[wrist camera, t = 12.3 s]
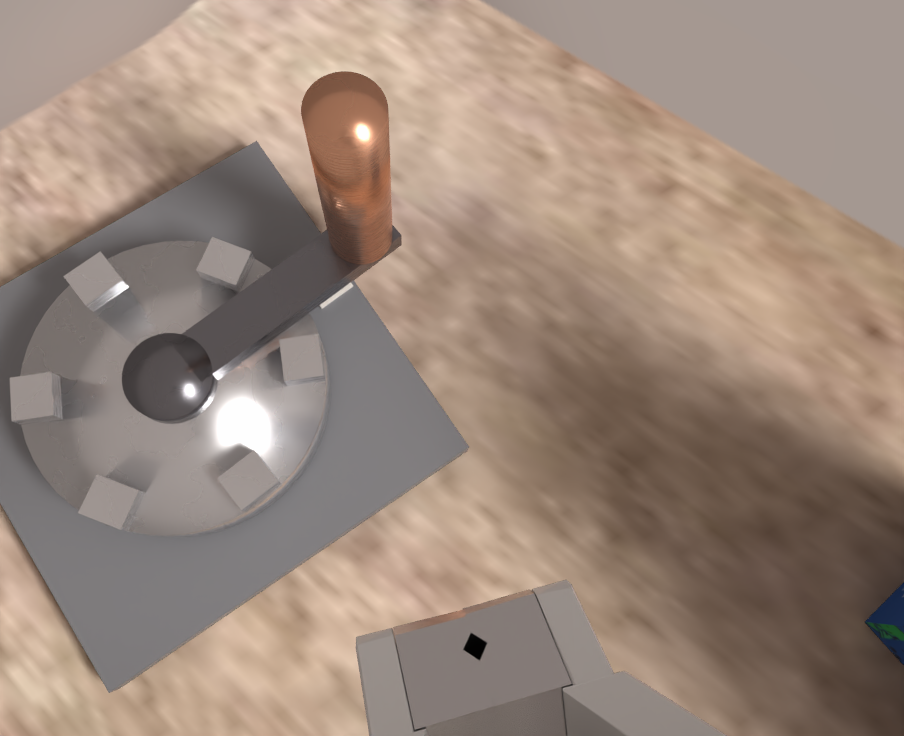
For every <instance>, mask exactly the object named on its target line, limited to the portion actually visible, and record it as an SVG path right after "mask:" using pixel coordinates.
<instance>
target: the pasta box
mask: <svg viewBox="0 0 904 736" xmlns="http://www.w3.org/2000/svg"><path fill="white" fill-rule="evenodd" d="M865 623H866V624H867V625H868V626H869V627H870V629H871V630H872V631H873V632H874V633H875V634H876V635H877V636H878V637H879V639H880V640H881V641H882V642H883V643H884V644H885V645H886V646H887V647H888V649H889V650H890V651H891V652H892V653H893V654H894V655H895V656H896V657H897V659H898V660H899V661H900V662H901V663H902V664H903V665H904V583H903V584H902V585H901V586H900V587H899V588H898V589H897V590H896V591H895V592H894V593H893V594H892V595H891V596H890V597H889V598H888V599H887V600H886V601H885V602H884V603H883V604H882V605H881V606H880V607H879V608H878V609H877V610H876V611H875V612H874V613H873V614H872V615H871V616H870V617H869V618H868V619H867V620H866V621H865Z"/></svg>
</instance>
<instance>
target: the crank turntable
mask: <svg viewBox="0 0 904 736" xmlns="http://www.w3.org/2000/svg"><path fill="white" fill-rule="evenodd" d="M301 114H302V119H303V124H304V128H305V133H306V137H307V142H308V146H309V151H310V155H311V160H312V164H313V168H314V173H315V177H316V182H317V186H318V191H319V195H320V200H321V204H322V209H323V213H324V217H325V222H326V226H327V230H326V231H325V232H323V233H322V234H320V235H319V236H318V237H316V238H315V239H313V240H312V241H311V242H309V243H308V244H306V245H305V246H304V247H302V248H301V249H299V250H298V251H297V252H295V253H294V254H292V255H291V256H290V257H288V258H287V259H285V260H284V261H283V262H281V263H280V264H278V265H277V266H276V267H274V268H273V269H270V268H269V267H268V266H266V265H264V264H263V263H261V262H259V261H258V260H256V259H255V258H254V256H253V254H252V252H251V251H249V250H246V249H243V248H241V247H238V246H235V245H233V244H230V243H227V242H225V241H222V240H219V239H217V238H214V237H212V238H211V240H210V242H209V243H206V242H199V241H168V242H159V243H153V244H148V245H143V246H139V247H136V248H133V249H130V250H127V251H124V252H121V253H119V254H117V255H115V256H113V257H110V258H108V259H107V258H106V257H105V256H104V255H103V254H102V253H101V252H99V253H97V254H96V255H94V256H93V257H91V258H90V259H88V260H87V261H85V262H84V263H82V264H81V265H79V266H78V267H76V268H75V269H73V270H72V271H70V272H69V273H68V274H66V275H65V276H63V277H64V278H65V279H66V280H67V282H68V283H69V284H70V285H69V286H68V287H67V288H66V289H65V290H64V291H63V292H62V293H61V294H60V295H59V296H58V297H57V299H56V300H55V301H54V302H53V304H52V305H51V306H50V307H49V309H48V310H47V311H46V313H45V314H44V316H43V318H42V319H41V321H40V322H39V324H38V326H37V327H36V329H35V331H34V334H33V336H32V338H31V340H30V342H29V345H28V347H27V350H26V354H25V357H24V360H23V364H22V369H21V375H20V376H18V377H11V378H10V397H11V420H12V422H15V423H17V424H20V425H21V426H22V430H23V434H24V438H25V441H26V444H27V446H28V449H29V451H30V453H31V456H32V458H33V460H34V462H35V464H36V465H37V467H38V468H39V470H40V472H41V473H42V475H43V477H44V478H45V479H46V480H47V481H48V483H49V484H50V485H51V486H52V487H53V489H54V490H55V491H56V492H57V493H58V494H59V495H60V496H61V497H63V498H64V499H65V500H66V501H67V502H68V503H69V504H70V505H72V506H73V507H75V508H76V509H78V510H79V512H78V513H79V514H81V515H84V516H87V517H89V518H92V519H94V520H97V521H99V522H101V523H103V524H105V525H108V526H111V527H115V528H117V529H120V530H124V531H129V532H135V533H141V534H147V535H154V536H161V537H191V536H201V535H206V534H210V533H215V532H219V531H222V530H225V529H228V528H231V527H233V526H236V525H239V524H241V523H243V522H245V521H247V520H249V519H250V518H252V517H254V516H256V515H258V514H259V513H261V512H262V511H264V510H265V509H267V508H268V507H270V506H271V505H272V504H274V503H275V502H276V501H277V500H278V499H279V498H281V497H282V496H283V495H284V494H285V493H286V492H287V491H288V490H289V489H290V488H291V487H292V486H293V485H294V483H295V482H296V481H297V480H298V479H299V478H300V477H301V475H302V474H303V472H304V471H305V469H306V468H307V466H308V465H309V463H310V462H311V460H312V458H313V456H314V454H315V452H316V450H317V448H318V446H319V444H320V442H321V439H322V436H323V433H324V430H325V427H326V423H327V418H328V413H329V408H330V395H331V384H330V371H329V366H328V361H327V357H326V353H325V350H324V347H323V344H322V342H321V339H320V336H319V333H318V330H317V328H316V325H315V323H314V321H313V319H312V317H311V315H310V312H311V311H313V310H314V309H315V308H317V307H318V306H319V305H321V304H322V303H323V302H325V301H326V300H327V299H329V298H330V297H332V296H333V295H334V294H336V293H337V292H338V291H340V290H341V289H342V288H344V287H345V286H346V285H348V284H349V283H351V282H352V281H353V280H355V279H356V278H357V277H359V276H360V275H361V274H363V273H364V272H365V271H367V270H368V269H370V268H371V267H372V266H374V265H375V264H376V263H378V262H379V261H380V260H382V259H383V258H384V257H386V256H387V255H388V254H390V253H391V252H393V251H394V250H395V249H397V248H398V247H399V246H401V234H400V233H399V232H398V231H397V230H396V229H395V227H394V226H393V225H392V206H391V177H390V147H389V118H388V104H387V100H386V97H385V95H384V93H383V91H382V90H381V88H380V87H379V86H378V85H377V84H376V83H375V82H374V81H372V80H371V79H369V78H368V77H366V76H364V75H361V74H358V73H354V72H335V73H331V74H328V75H326V76H323V77H322V78H320V79H318V80H317V81H316V82H314V83H313V84H312V85H311V86H310V88H309V89H308V90H307V92H306V94H305V96H304V98H303V101H302V107H301Z"/></svg>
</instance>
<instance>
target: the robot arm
mask: <svg viewBox="0 0 904 736" xmlns="http://www.w3.org/2000/svg"><path fill="white" fill-rule="evenodd" d="M393 629H394V631H393ZM356 652H357V659H358V665H359V671H360V678H361V684H362V691H363V697H364V704H365V710H366V717H367V723H368V729H369V736H727V735H725V734H724V733H722V732H720V731H719V730H717V729H716V728H714V727H712V726H711V725H709V724H708V723H706V722H705V721H703V720H701V719H700V718H698V717H697V716H695V715H694V714H692V713H690V712H689V711H687V710H686V709H684V708H683V707H681V706H679V705H678V704H676V703H675V702H673V701H672V700H670V699H668V698H667V697H665V696H664V695H662V694H661V693H659V692H657V691H656V690H654V689H653V688H651V687H649V686H648V685H646V684H645V683H643V682H642V681H640V680H638V679H637V678H635V677H634V676H632V675H631V674H629V673H627V672H626V671H621V672H617V673H614V672H613V670H612V668H611V666H610V664H609V662H608V660H607V658H606V655H605V653H604V651H603V649H602V647H601V645H600V643H599V641H598V639H597V637H596V635H595V633H594V630H593V628H592V626H591V624H590V622H589V620H588V618H587V616H586V614H585V612H584V610H583V608H582V605H581V603H580V601H579V599H578V597H577V595H576V593H575V591H574V589H573V587H572V585H571V584H570V583H569V582H568V581H567V580H563V581H560V582H556V583H552V584H549V585H545V586H542V587H538V588H534V589H532V591H531V590H530V589H529V590H526V591H522V592H519V593H515V594H512V595H508V596H505V597H501V598H498V599H495V600H491V601H488V602H484V603H481V604H477V605H474V606H470V607H467V608H463V610H460V611H456V612H452V613H448V614H444V615H440V616H436V617H432V618H428V619H424V620H420V621H416V622H412V623H408V624H404V625H400V626H396V627H393V628H390V629H386V630H382V631H378V632H374V633H370V634H366V635H362V636H358V637H356Z"/></svg>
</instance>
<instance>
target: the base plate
mask: <svg viewBox="0 0 904 736" xmlns="http://www.w3.org/2000/svg"><path fill="white" fill-rule="evenodd" d="M320 234H321V233H320V231H319V230H318V229H317V227H316V226H315V224H314V223H313V221H312V220H311V219H310V217H309V216H308V214H307V213H306V211H305V210H304V208H303V207H302V206H301V204H300V203H299V201H298V200H297V198H296V197H295V195H294V194H293V193H292V191H291V190H290V188H289V187H288V185H287V184H286V183H285V181H284V180H283V178H282V177H281V175H280V174H279V172H278V171H277V170H276V168H275V167H274V165H273V164H272V162H271V161H270V160H269V158H268V157H267V155H266V154H265V152H264V151H263V149H262V148H261V147H260V145H259V144H258V142H257V141H256V142H254V143H252V144H251V145H249V146H247V147H245V148H243V149H242V150H240V151H238V152H236V153H235V154H233V155H231V156H229V157H228V158H226V159H224V160H222V161H221V162H219V163H217V164H215V165H214V166H212V167H210V168H208V169H207V170H205V171H203V172H201V173H200V174H198V175H196V176H194V177H192V178H191V179H189V180H187V181H185V182H184V183H182V184H180V185H178V186H177V187H175V188H173V189H171V190H170V191H168V192H166V193H164V194H163V195H161V196H159V197H157V198H156V199H154V200H152V201H150V202H149V203H147V204H145V205H143V206H142V207H140V208H138V209H136V210H134V211H133V212H131V213H129V214H127V215H126V216H124V217H122V218H120V219H119V220H117V221H115V222H113V223H112V224H110V225H108V226H106V227H105V228H103V229H101V230H99V231H98V232H96V233H94V234H92V235H91V236H89V237H87V238H85V239H84V240H82V241H80V242H78V243H76V244H75V245H73V246H71V247H69V248H68V249H66V250H64V251H62V252H61V253H59V254H57V255H55V256H54V257H52V258H50V259H48V260H47V261H45V262H43V263H41V264H40V265H38V266H36V267H34V268H33V269H31V270H29V271H27V272H25V273H24V274H22V275H20V276H18V277H17V278H15V279H13V280H11V281H10V282H8V283H6V284H4V285H3V286H1V287H0V504H1V505H2V507H3V509H4V511H5V512H6V514H7V516H8V518H9V519H10V521H11V523H12V525H13V526H14V528H15V530H16V532H17V533H18V535H19V537H20V538H21V540H22V542H23V544H24V545H25V547H26V549H27V551H28V552H29V554H30V556H31V558H32V559H33V561H34V563H35V565H36V566H37V568H38V570H39V572H40V573H41V575H42V577H43V579H44V580H45V582H46V584H47V586H48V587H49V589H50V591H51V593H52V594H53V596H54V598H55V600H56V601H57V603H58V605H59V607H60V608H61V610H62V612H63V614H64V615H65V617H66V619H67V621H68V622H69V624H70V626H71V628H72V629H73V631H74V633H75V635H76V636H77V638H78V640H79V641H80V643H81V645H82V647H83V648H84V650H85V652H86V654H87V655H88V657H89V659H90V661H91V662H92V664H93V666H94V668H95V669H96V671H97V673H98V675H99V676H100V678H101V680H102V682H103V683H104V685H105V687H106V689H107V690H108V692H109V693H110V692H112V691H115V690H117V689H119V688H121V687H123V686H124V685H126V684H127V683H128V682H130V681H131V680H133V679H134V678H136V677H137V676H139V675H140V674H142V673H143V672H145V671H146V670H147V669H149V668H150V667H152V666H153V665H155V664H156V663H158V662H159V661H161V660H162V659H164V658H165V657H166V656H168V655H169V654H171V653H172V652H174V651H175V650H177V649H178V648H180V647H181V646H183V645H184V644H185V643H187V642H188V641H190V640H191V639H193V638H194V637H196V636H197V635H199V634H200V633H202V632H203V631H204V630H206V629H207V628H209V627H210V626H212V625H213V624H215V623H216V622H218V621H219V620H221V619H222V618H223V617H225V616H226V615H228V614H229V613H231V612H232V611H234V610H235V609H237V608H238V607H240V606H241V605H243V604H244V603H245V602H247V601H248V600H250V599H251V598H253V597H254V596H256V595H257V594H259V593H260V592H262V591H263V590H264V589H266V588H267V587H269V586H270V585H272V584H273V583H275V582H276V581H278V580H279V579H281V578H282V577H283V576H285V575H286V574H288V573H289V572H291V571H292V570H294V569H295V568H297V567H298V566H300V565H301V564H302V563H304V562H305V561H307V560H308V559H310V558H311V557H313V556H314V555H316V554H317V553H319V552H320V551H321V550H323V549H324V548H326V547H327V546H329V545H330V544H332V543H333V542H335V541H336V540H338V539H339V538H340V537H342V536H343V535H345V534H346V533H348V532H349V531H351V530H352V529H354V528H355V527H357V526H358V525H359V524H361V523H362V522H364V521H365V520H367V519H368V518H370V517H371V516H373V515H374V514H376V513H377V512H379V511H380V510H381V509H383V508H384V507H386V506H387V505H389V504H390V503H392V502H393V501H395V500H396V499H398V498H399V497H400V496H402V495H403V494H405V493H406V492H408V491H409V490H411V489H412V488H414V487H415V486H417V485H418V484H419V483H421V482H422V481H424V480H425V479H427V478H428V477H430V476H431V475H433V474H434V473H436V472H437V471H438V470H440V469H441V468H443V467H444V466H446V465H447V464H449V463H450V462H452V461H453V460H455V459H456V458H457V457H459V456H460V455H462V454H463V453H465V452H466V451H467V450H468V448H469V446H468V444H467V443H466V442H465V440H464V439H463V437H462V436H461V434H460V433H459V432H458V430H457V429H456V427H455V426H454V424H453V423H452V421H451V420H450V419H449V417H448V416H447V414H446V413H445V411H444V410H443V409H442V407H441V406H440V404H439V403H438V401H437V400H436V398H435V397H434V396H433V394H432V393H431V391H430V390H429V388H428V387H427V385H426V384H425V383H424V381H423V380H422V378H421V377H420V375H419V374H418V373H417V371H416V370H415V368H414V367H413V365H412V364H411V362H410V361H409V360H408V358H407V357H406V355H405V354H404V352H403V351H402V349H401V348H400V347H399V345H398V344H397V342H396V341H395V339H394V338H393V337H392V335H391V334H390V332H389V331H388V329H387V328H386V326H385V325H384V324H383V322H382V321H381V319H380V318H379V316H378V315H377V314H376V312H375V311H374V309H373V308H372V306H371V305H370V303H369V302H368V301H367V299H366V298H365V296H364V295H363V293H362V292H361V290H360V289H359V288H358V286H357V285H356V283H355V282H354V280H353V281H352V282H351V283H349V284H348V285H346V286H345V287H344V288H342V289H341V290H340V291H338V292H337V293H336V294H334V295H333V296H332V297H330V298H329V299H327V300H326V301H325V302H323V303H322V304H321V305H319V306H318V307H317V308H315V309H314V310H313V311H311V312H310V315H311V317H312V319H313V321H314V323H315V325H316V328H317V330H318V333H319V336H320V339H321V342H322V344H323V347H324V350H325V353H326V357H327V361H328V366H329V371H330V384H331V395H330V408H329V413H328V418H327V423H326V427H325V430H324V433H323V436H322V439H321V442H320V444H319V446H318V448H317V450H316V452H315V454H314V456H313V458H312V460H311V462H310V463H309V465H308V466H307V468H306V469H305V471H304V472H303V474H302V475H301V477H300V478H299V479H298V480H297V481H296V482H295V483H294V485H293V486H292V487H291V488H290V489H289V490H288V491H287V492H286V493H285V494H284V495H283V496H282V497H281V498H279V499H278V500H277V501H276V502H275V503H274V504H272V505H271V506H270V507H268V508H267V509H265V510H264V511H262V512H261V513H259V514H258V515H256V516H254V517H252V518H250V519H249V520H247V521H245V522H243V523H241V524H239V525H236V526H233V527H231V528H228V529H225V530H222V531H219V532H215V533H210V534H206V535H201V536H191V537H161V536H154V535H147V534H141V533H135V532H129V531H124V530H120V529H117V528H115V527H111V526H108V525H105V524H103V523H101V522H99V521H97V520H94V519H92V518H89V517H87V516H84V515H81V514H79V513H78V512H79V510H78V509H76V508H75V507H73V506H72V505H70V504H69V503H68V502H67V501H66V500H65V499H64V498H63V497H61V496H60V495H59V494H58V493H57V492H56V491H55V490H54V489H53V487H52V486H51V485H50V484H49V483H48V481H47V480H46V479H45V478H44V477H43V475H42V473H41V472H40V470H39V468H38V467H37V465H36V464H35V462H34V460H33V458H32V456H31V453H30V451H29V449H28V446H27V444H26V441H25V438H24V434H23V430H22V426H21V425H20V424H17V423H15V422H12V420H11V397H10V378H11V377H18V376H20V375H21V369H22V364H23V360H24V357H25V354H26V350H27V347H28V345H29V342H30V340H31V338H32V336H33V334H34V331H35V329H36V327H37V326H38V324H39V322H40V321H41V319H42V318H43V316H44V314H45V313H46V311H47V310H48V309H49V307H50V306H51V305H52V304H53V302H54V301H55V300H56V299H57V297H58V296H59V295H60V294H61V293H62V292H63V291H64V290H65V289H66V288H67V287H68V286H69V285H70V284H69V283H68V282H67V280H66V279H65V278H64V277H63V276H65V275H66V274H68V273H69V272H70V271H72V270H73V269H75V268H76V267H78V266H79V265H81V264H82V263H84V262H85V261H87V260H88V259H90V258H91V257H93V256H94V255H96V254H97V253H99V252H101V253H102V254H103V255H104V256H105V257H106V258H107V259H108V258H110V257H113V256H115V255H117V254H119V253H121V252H124V251H127V250H130V249H133V248H136V247H139V246H143V245H148V244H153V243H159V242H168V241H199V242H206V243H209V242H210V240H211V238H212V237H214V238H217V239H219V240H222V241H225V242H227V243H230V244H233V245H235V246H238V247H241V248H243V249H246V250H249V251H251V252H252V254H253V256H254V258H255V259H256V260H258V261H259V262H261V263H263V264H264V265H266V266H268V267H269V268H270V269H273V268H274V267H276V266H277V265H278V264H280V263H281V262H283V261H284V260H285V259H287V258H288V257H290V256H291V255H292V254H294V253H295V252H297V251H298V250H299V249H301V248H302V247H304V246H305V245H306V244H308V243H309V242H311V241H312V240H313V239H315V238H316V237H318V236H319V235H320Z"/></svg>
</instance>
